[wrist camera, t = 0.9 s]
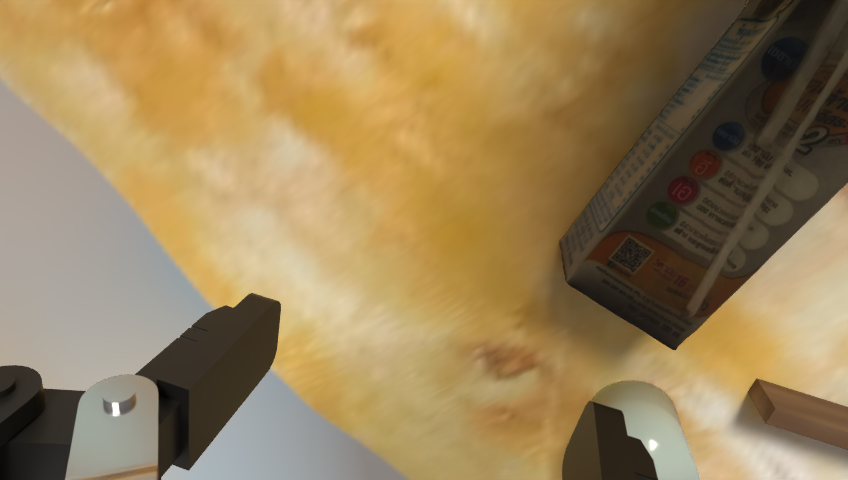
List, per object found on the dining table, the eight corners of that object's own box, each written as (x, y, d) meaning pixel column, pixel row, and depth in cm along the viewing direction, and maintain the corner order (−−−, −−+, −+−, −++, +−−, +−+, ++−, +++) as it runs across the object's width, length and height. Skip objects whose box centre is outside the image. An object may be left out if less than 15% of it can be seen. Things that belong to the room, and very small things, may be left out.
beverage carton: (913, 39, 26) (1025, 43, 20) (652, 306, 34) (676, 366, 28) (782, -48, 25) (855, -70, 19) (552, 243, 34) (554, 289, 28)
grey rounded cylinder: (606, 369, 36) (617, 429, 31) (691, 397, 35) (717, 463, 30) (576, 430, 39) (582, 496, 33) (655, 457, 38) (674, 528, 33)
